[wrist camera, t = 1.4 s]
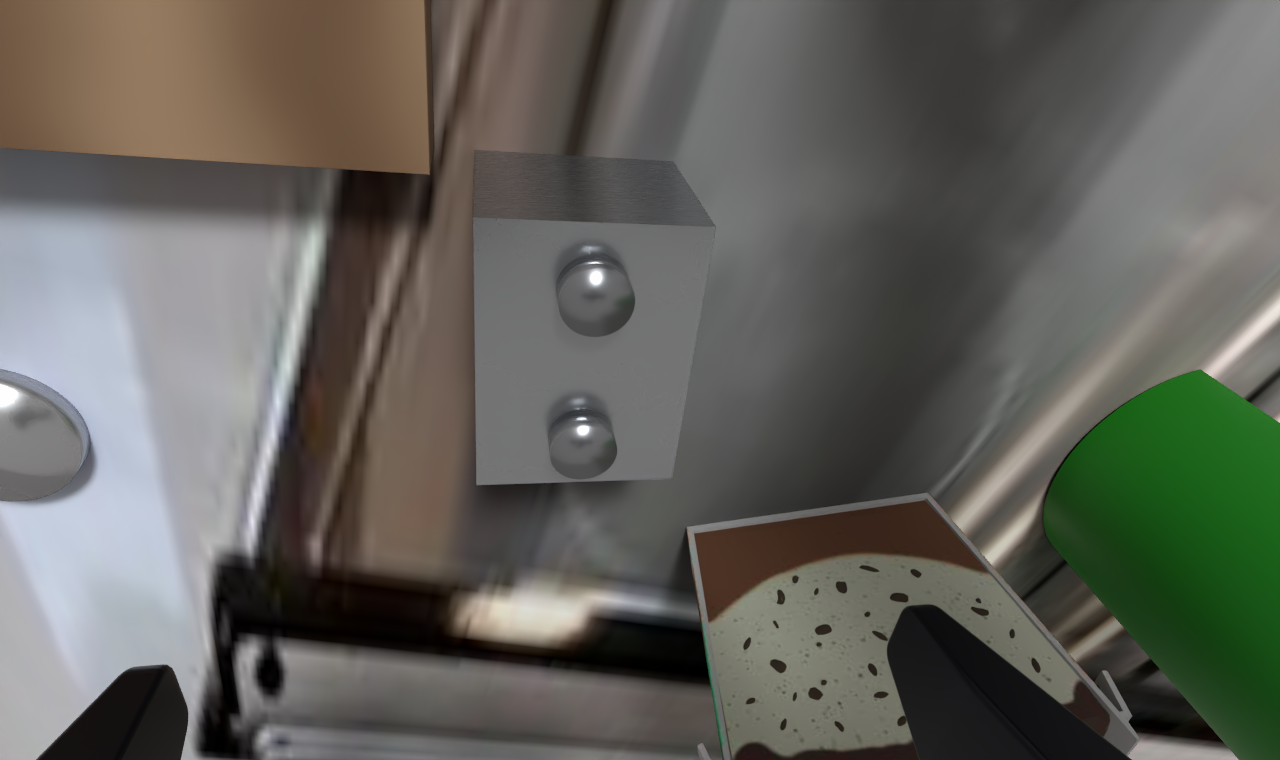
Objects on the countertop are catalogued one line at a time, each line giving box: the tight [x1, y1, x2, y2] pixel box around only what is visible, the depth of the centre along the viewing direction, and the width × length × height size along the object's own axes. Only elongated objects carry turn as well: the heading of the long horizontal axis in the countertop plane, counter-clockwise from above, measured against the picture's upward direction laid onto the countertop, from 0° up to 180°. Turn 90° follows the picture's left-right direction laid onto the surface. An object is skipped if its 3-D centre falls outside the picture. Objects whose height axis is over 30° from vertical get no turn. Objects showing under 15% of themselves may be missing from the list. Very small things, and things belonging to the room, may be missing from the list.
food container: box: [686, 493, 1140, 760], centre depth 25 cm, size 12×6×10 cm, turn 91°
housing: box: [473, 150, 716, 485], centre depth 19 cm, size 5×7×5 cm
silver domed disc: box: [0, 369, 90, 501], centre depth 20 cm, size 4×4×1 cm
